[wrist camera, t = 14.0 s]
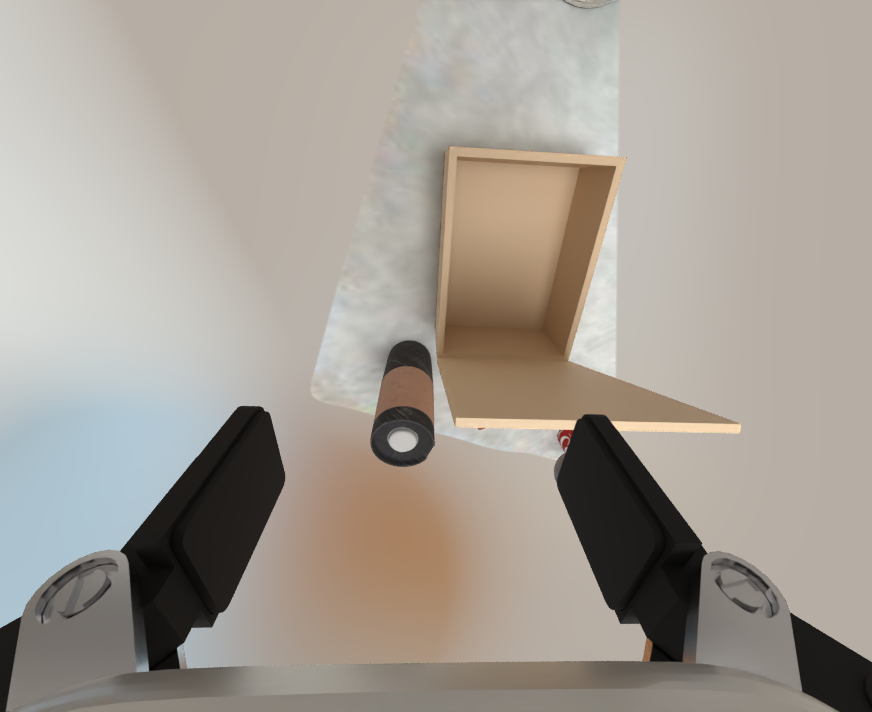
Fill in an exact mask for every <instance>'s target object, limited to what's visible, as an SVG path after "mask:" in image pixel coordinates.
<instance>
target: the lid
mask: <svg viewBox="0 0 872 712" xmlns="http://www.w3.org/2000/svg"><path fill="white" fill-rule="evenodd" d="M437 363H438V367H439V371H440V374H441V378H442V381H443V385H444V388H445V392H446V396H447V399H448V403H449V406H450V410H451V414H452V417H453V421H454V424H455V427H463V428H511V429H559V430H574V427H575V424H576V421H577V420H578V419H581V418H582V416H583V415H584V414H603V415H606V416H607V417H608V418H609V420H610V421H611V422H612V424H613V425H614V426H615V428H616V429H617V430H618V431H655V432H657V431H658V432H704V433H706V432H707V433H708V432H709V433H740V430H741V424H740V423H737V422H734V421H731V420H729V419H726V418H723V417H720V416H718V415H715V414H712V413H709V412H707V411H704V410H701V409H698V408H696V407H693V406H690V405H687V404H685V403H682V402H679V401H677V400H674V399H671V398H668V397H666V396H663V395H660V394H657V393H655V392H652V391H649V390H646V389H644V388H641V387H638V386H635V385H633V384H630V383H627V382H624V381H622V380H619V379H616V378H614V377H611V376H608V375H605V374H603V373H600V372H597V371H594V370H592V369H589V368H586V367H583V366H581V365H578V364H575V363H572V362H570V361H543V360H511V359H479V358H447V357H437ZM565 454H566V453H564V454H563V455H561V456H560V457H559V458H558V460H557V462H556V464H555V467H554V476H555V480H556V482H557V477H558V474H559V471H560V468H561V465H562V462H563V459H564V456H565Z"/></svg>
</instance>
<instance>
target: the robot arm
mask: <svg viewBox="0 0 872 712" xmlns="http://www.w3.org/2000/svg"><path fill="white" fill-rule="evenodd" d="M565 1H566V2H568V3H570V4H572V5H574V6H577V7H583V8H594V7H600V6H603V5H605V4H608V3H611V2H612V1H614V0H565ZM284 482H285V472H284V468H283V464H282V460H281V456H280V452H279V448H278V444H277V440H276V436H275V432H274V429H273V424H272V420H271V416H270V414H269V412H265V411H264V409H263V408H262V407H259V406H240V407H238V408H237V409H236V410H235V411H234V413H233V414H232V415H231V416H230V418H229V419H228V420H227V421H226V423H225V424H224V425H223V426H222V427H221V429H220V430H219V431H218V432H217V434H216V435H215V436H214V437H213V438H212V440H211V441H210V442H209V443H208V445H207V446H206V447H205V448H204V450H203V451H202V452H201V453H200V455H199V456H198V457H197V458H196V459H195V460H194V461H193V462H192V463H191V465H190V466H189V467H188V468H187V470H186V471H185V472H184V473H183V475H182V476H181V477H180V478H179V479H178V481H177V482H176V483H175V484H174V485H173V487H172V488H171V489H170V490H169V492H168V493H167V494H166V495H165V497H164V498H163V499H162V500H161V502H160V503H159V504H158V505H157V506H156V508H155V509H154V510H153V511H152V512H151V514H150V515H149V516H148V517H147V519H146V520H145V521H144V522H143V524H142V525H141V526H140V527H139V529H138V530H137V531H136V532H135V533H134V535H133V536H132V537H131V538H130V540H129V541H128V542H127V543H126V544H125V546H124V547H123V548H122V549H121V551H115V550H105V551H99V552H95V553H92V554H90V555H87V556H84V557H82V558H79V559H78V560H76V561H74V562H72V563H70V564H69V565H67V566H65V567H64V568H62V569H61V570H60V571H58V572H57V573H56V574H54V575H53V576H51V577H50V578H49V579H48V580H47V581H46V582H45V583H44V584H43V585H42V586H41V587H40V588H39V589H38V590H37V591H36V592H35V593H34V595H33V596H32V597H31V599H30V600H29V602H28V603H27V604H26V607H25V610H24V612H23V615H22V616H21V617H20V618H18V619H16V620H14V621H12V622H10V623H9V624H7V625H5V626H3V627H1V628H0V712H872V662H871V661H869V660H867V659H866V658H864V657H862V656H861V655H859V654H857V653H856V652H854V651H852V650H851V649H849V648H847V647H846V646H844V645H843V644H841V643H839V642H838V641H836V640H834V639H833V638H831V637H829V636H827V635H826V634H825V633H823V632H821V631H820V630H818V629H816V628H815V627H813V626H811V625H810V624H808V623H806V622H805V621H803V620H801V619H800V618H798V617H797V616H795V615H793V614H792V613H790V611H789V608H788V605H787V602H786V600H785V598H784V597H783V595H782V594H781V592H780V591H779V589H778V588H777V587H776V586H775V585H774V584H773V583H772V582H771V580H770V579H769V578H768V577H767V576H766V575H764V574H763V573H762V572H761V571H759V570H758V569H757V568H756V567H754V566H753V565H751V564H750V563H748V562H746V561H745V560H743V559H741V558H739V557H737V556H734V555H732V554H729V553H724V552H720V551H716V552H709V553H707V552H706V551H705V549H704V548H703V547H702V542H701V541H700V540H699V538H698V537H697V536H696V534H695V533H694V532H693V530H692V529H691V528H690V526H689V525H688V524H687V522H686V521H685V520H684V518H683V517H682V516H681V514H680V513H679V512H678V511H677V509H676V508H675V506H674V505H673V504H672V502H671V501H670V500H669V498H668V497H667V496H666V494H665V493H664V492H663V491H662V489H661V488H660V486H659V485H658V484H657V482H656V481H655V480H654V479H653V477H652V476H651V474H650V473H649V472H648V471H647V469H646V468H645V466H644V465H643V464H642V462H641V461H640V460H639V458H638V457H637V456H636V455H635V453H634V452H633V450H632V449H631V448H630V447H629V445H628V444H627V443H626V441H625V440H624V438H623V437H622V436H621V435H620V433H619V432H618V430H617V429H616V428H615V426H614V425H613V424H612V422H611V421H610V420H609V418H608V417H607V416H606V415H603V414H584V415H583V416H582V418H581V419H578V420H577V421H576V424H575V427H574V430H573V433H572V436H571V439H570V442H569V445H568V448H567V451H566V454H565V456H564V459H563V462H562V465H561V468H560V471H559V474H558V477H557V486H558V490H559V492H560V494H561V497H562V500H563V502H564V504H565V507H566V509H567V511H568V514H569V516H570V518H571V520H572V523H573V526H574V528H575V530H576V533H577V535H578V537H579V540H580V542H581V545H582V547H583V549H584V552H585V554H586V556H587V559H588V561H589V563H590V566H591V568H592V571H593V573H594V575H595V578H596V580H597V582H598V585H599V587H600V590H601V592H602V594H603V597H604V599H605V601H606V603H607V605H608V607H609V608H610V609H612V610H615V612H616V615H617V617H618V619H619V622H620V624H641V626H642V628H643V631H644V632H645V635H646V636H647V638H646V644H645V650H644V656H643V661H642V662H640V661H577V662H576V661H573V662H571V661H564V662H475V663H474V662H469V663H402V664H401V663H400V664H344V665H343V664H341V665H293V666H292V665H291V666H243V667H219V668H193V669H187V665H186V659H185V654H184V648H183V643H184V642H185V640H186V638H187V636H188V634H189V632H190V630H191V628H200V627H201V628H202V627H212V626H213V624H214V622H215V620H216V618H217V616H218V614H219V613H221V612H224V611H225V610H226V608H227V607H228V605H229V604H230V602H231V599H232V597H233V595H234V593H235V591H236V588H237V586H238V584H239V582H240V580H241V578H242V575H243V573H244V571H245V569H246V567H247V564H248V562H249V560H250V558H251V556H252V554H253V551H254V549H255V547H256V545H257V543H258V541H259V538H260V536H261V534H262V532H263V530H264V527H265V525H266V523H267V521H268V519H269V516H270V514H271V512H272V510H273V508H274V506H275V504H276V501H277V499H278V497H279V495H280V493H281V490H282V488H283V486H284Z"/></svg>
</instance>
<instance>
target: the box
mask: <svg viewBox="0 0 872 712" xmlns="http://www.w3.org/2000/svg"><path fill="white" fill-rule="evenodd" d="M626 159H627V158H626V157H613V156H598V155H582V154H566V153H550V152H534V151H518V150H502V149H486V148H471V147H455V146H449V148H448V149H447V150H446V151H445V156H444V174H443V193H442V211H441V230H440V248H439V267H438V285H437V303H436V322H435V333H436V350H437V357H447V358H479V359H511V360H543V361H568V359H569V356H570V353H571V349H572V346H573V342H574V339H575V335H576V332H577V328H578V325H579V321H580V318H581V314H582V311H583V308H584V304H585V301H586V297H587V294H588V290H589V287H590V283H591V280H592V276H593V273H594V269H595V266H596V262H597V259H598V256H599V252H600V249H601V245H602V242H603V238H604V235H605V231H606V228H607V224H608V221H609V217H610V214H611V211H612V207H613V204H614V200H615V197H616V193H617V190H618V186H619V183H620V179H621V176H622V172H623V169H624V165H625V162H626Z"/></svg>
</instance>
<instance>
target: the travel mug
mask: <svg viewBox="0 0 872 712" xmlns="http://www.w3.org/2000/svg"><path fill="white" fill-rule="evenodd" d="M433 446H435V441H434V394H433V377H432V365H431V357H430V353H429V351H428V350H427V349H426V347H425V346H423V345H422V344H420V343H418V342H415V341H404V342H401V343H399V344H397V345H396V346H395V347H393V349H392V350H391V352H390V354H389V357H388V361H387V365H386V368H385V372H384V376H383V379H382V383H381V388H380V393H379V398H378V404H377V409H376V414H375V419H374V424H373V430H372V434H371V448H372V451H373V453H374V454H375V455H376V456H377V457H378V458H379V459H380V460H381V461H383V462H385V463H387V464H389V465H393V466H398V467H407V466H413V465H417V464H419V463H421V462H423V461H425V460H426V458H427V456H428V454H429V453H430V451H431V449H432V448H433Z"/></svg>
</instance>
